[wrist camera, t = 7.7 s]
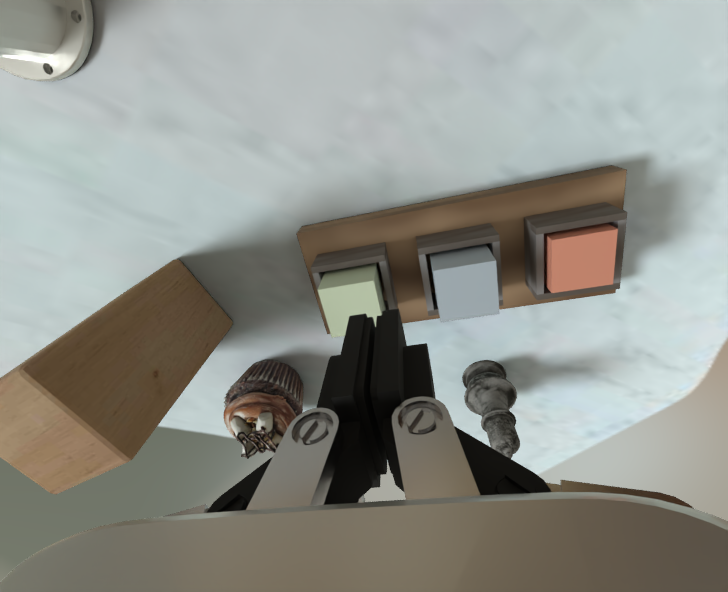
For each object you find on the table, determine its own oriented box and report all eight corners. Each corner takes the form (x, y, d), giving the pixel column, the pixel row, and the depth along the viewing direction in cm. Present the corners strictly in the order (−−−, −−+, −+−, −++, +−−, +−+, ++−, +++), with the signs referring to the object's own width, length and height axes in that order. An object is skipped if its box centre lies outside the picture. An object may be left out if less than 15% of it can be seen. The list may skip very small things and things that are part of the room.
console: (302, 226, 39) (287, 245, 34) (611, 165, 34) (651, 176, 29) (330, 322, 44) (321, 352, 39) (603, 282, 39) (635, 310, 34)
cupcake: (284, 343, 46) (257, 400, 37) (323, 398, 50) (307, 461, 41) (224, 368, 49) (186, 427, 40) (265, 418, 53) (238, 482, 44)
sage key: (325, 271, 36) (317, 290, 32) (376, 262, 35) (373, 280, 31) (337, 315, 38) (331, 337, 34) (386, 308, 37) (384, 330, 33)
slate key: (429, 253, 34) (433, 270, 30) (485, 243, 33) (496, 260, 30) (436, 300, 36) (440, 322, 33) (489, 292, 35) (499, 313, 32)
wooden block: (235, 322, 45) (132, 462, 28) (178, 354, 48) (52, 498, 31) (178, 256, 42) (18, 368, 24) (121, 294, 45) (-60, 419, 27)
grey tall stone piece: (450, 377, 47) (465, 457, 36) (487, 350, 44) (515, 427, 34) (480, 402, 48) (504, 487, 37) (518, 377, 46) (555, 460, 35)
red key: (536, 226, 34) (552, 240, 31) (594, 215, 33) (617, 229, 30) (536, 274, 36) (551, 293, 33) (591, 266, 36) (613, 284, 32)
